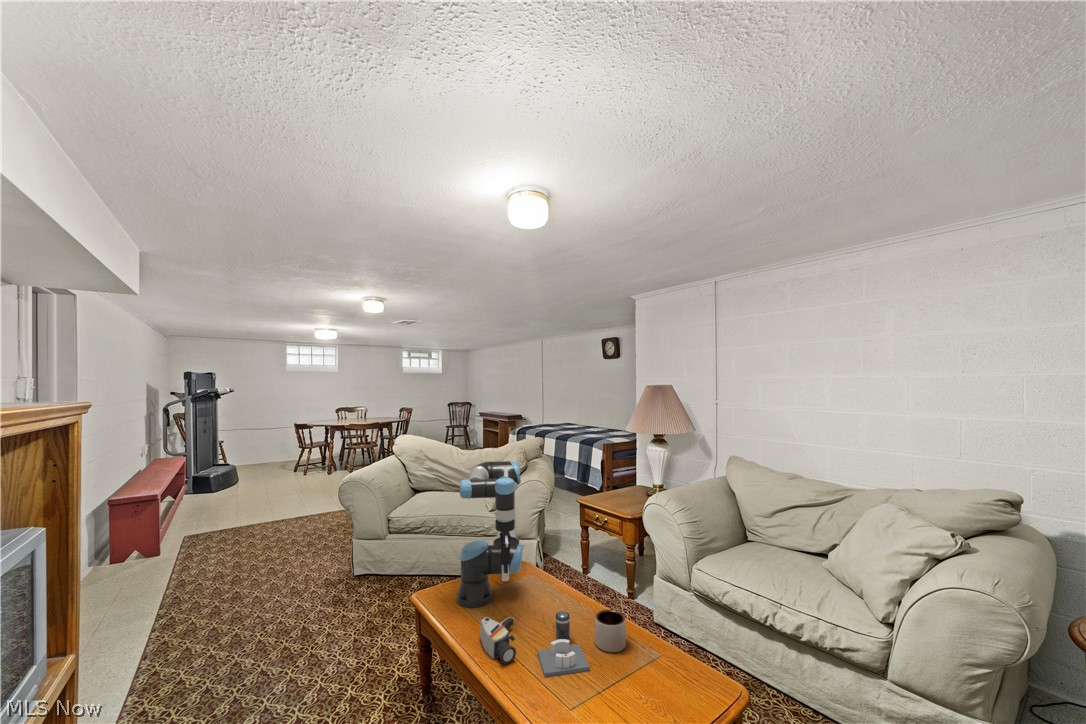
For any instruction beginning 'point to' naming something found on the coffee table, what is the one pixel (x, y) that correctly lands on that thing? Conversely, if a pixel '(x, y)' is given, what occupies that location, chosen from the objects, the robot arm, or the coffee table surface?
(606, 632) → the planter
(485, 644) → the film camera
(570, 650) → the mount
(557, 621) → the lens
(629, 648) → the coffee table surface
